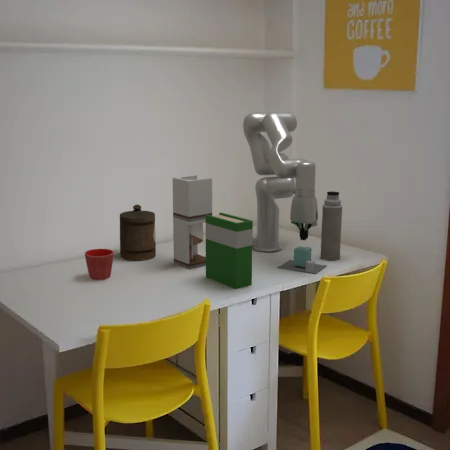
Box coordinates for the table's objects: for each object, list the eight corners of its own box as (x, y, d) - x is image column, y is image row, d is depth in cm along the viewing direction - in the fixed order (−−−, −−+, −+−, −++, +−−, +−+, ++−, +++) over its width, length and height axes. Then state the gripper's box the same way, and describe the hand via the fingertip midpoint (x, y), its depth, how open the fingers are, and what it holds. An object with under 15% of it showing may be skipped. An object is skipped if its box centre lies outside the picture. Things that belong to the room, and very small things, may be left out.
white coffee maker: (189, 269, 246) (188, 181, 238) (173, 263, 254) (172, 177, 246) (212, 264, 253) (212, 178, 245) (196, 258, 261) (195, 174, 253)
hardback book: (205, 277, 237) (205, 215, 231) (220, 273, 241) (221, 212, 236) (236, 289, 224) (236, 223, 218) (251, 285, 228) (252, 220, 223)
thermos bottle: (320, 255, 267) (322, 190, 261) (339, 255, 266) (342, 190, 260) (320, 260, 259) (323, 193, 253) (340, 260, 259) (343, 193, 252)
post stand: (277, 268, 249) (278, 250, 247) (289, 260, 259) (290, 243, 257) (315, 274, 241) (316, 256, 239) (326, 266, 251) (327, 249, 250)
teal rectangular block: (293, 265, 249) (294, 248, 247) (298, 261, 253) (299, 246, 252) (305, 267, 246) (306, 250, 245) (310, 263, 251) (311, 247, 249)
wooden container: (163, 255, 265) (162, 204, 260) (136, 263, 254) (134, 210, 249) (140, 249, 275) (138, 200, 270) (113, 256, 264) (111, 205, 259)
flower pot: (120, 275, 239) (119, 250, 236) (101, 283, 229) (100, 257, 227) (99, 271, 244) (98, 246, 242) (79, 278, 235) (78, 253, 232)
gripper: (283, 193, 243) (282, 239, 247) (319, 196, 236) (318, 243, 240) (291, 190, 250) (290, 235, 254) (326, 193, 243) (325, 239, 247)
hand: (303, 239), depth 247 cm, fingers closed
